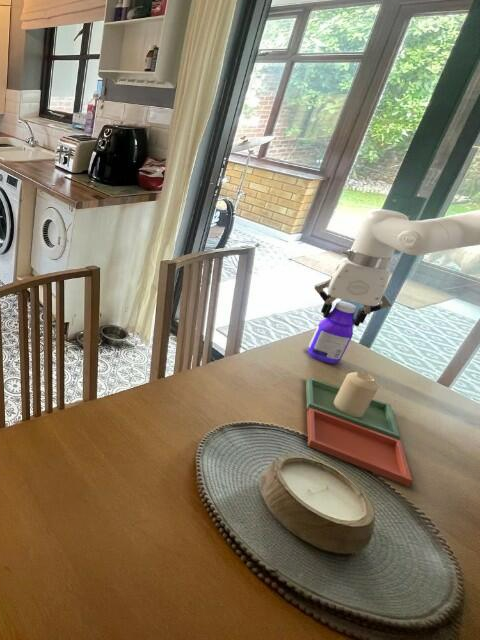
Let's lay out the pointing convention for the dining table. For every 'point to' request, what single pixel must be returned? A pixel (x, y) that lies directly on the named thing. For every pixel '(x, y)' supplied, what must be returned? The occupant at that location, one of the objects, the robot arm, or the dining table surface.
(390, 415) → the tray sage
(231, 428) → the dining table surface
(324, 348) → the bottle
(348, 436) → the tray terracotta
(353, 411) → the candle
